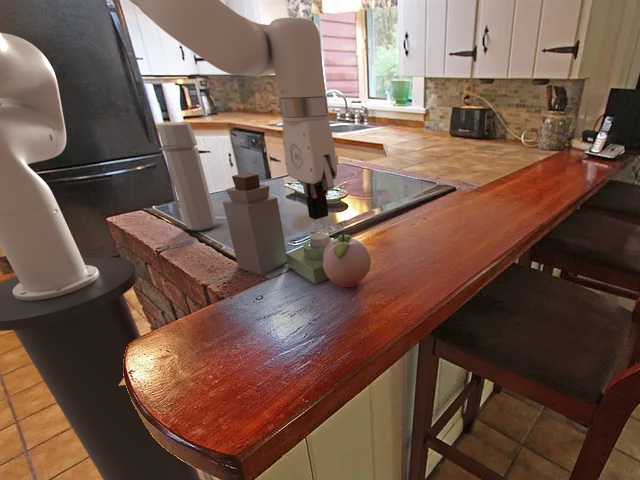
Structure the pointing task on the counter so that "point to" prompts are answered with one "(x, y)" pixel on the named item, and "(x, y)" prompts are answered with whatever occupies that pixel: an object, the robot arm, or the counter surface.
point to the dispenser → (308, 262)
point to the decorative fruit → (346, 261)
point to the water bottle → (187, 175)
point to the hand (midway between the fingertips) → (319, 216)
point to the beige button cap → (319, 240)
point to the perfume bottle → (254, 225)
